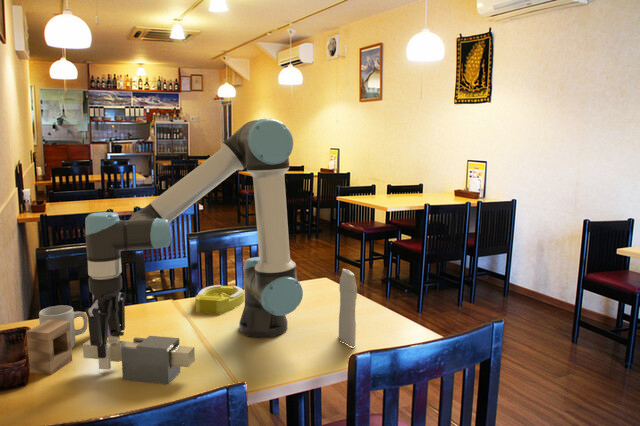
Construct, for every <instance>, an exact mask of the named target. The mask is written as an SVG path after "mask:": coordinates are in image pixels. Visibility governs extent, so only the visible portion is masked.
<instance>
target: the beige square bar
mask: <svg viewBox="0 0 640 426" xmlns="http://www.w3.org/2000/svg"><path fill="white" fill-rule="evenodd" d="M107 343H108V344H110V360H114V361H113V362H115V361H119V362H122V354H121V348H122V347H123V346H125V347H136V346H137V345H138V344H140V342H134V341H127V340H120V341H116V340H108V339H107ZM195 351H196V350H195V346H186V345H185V346H184V345H179V346H175V345H174V346H173V347H172V348H171V349H170V350H169V361H170V366H179V367H180V368H182V367H183V368H190V367H191V366H192V365H193V363H194V362H195V361H196V359H195V357H196V356H195V355H196V354H195ZM82 352H83V353H82V354H83V358H84V359H93V360H99V359H98V351H97V346H92V345H91V344H90V339H88V340H87V341H85V342H84V343H82Z"/></svg>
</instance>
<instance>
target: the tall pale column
mask: <svg viewBox="0 0 640 426" xmlns="http://www.w3.org/2000/svg"><path fill="white" fill-rule="evenodd" d="M356 283H357V282H356V276H355V274H354V272H352V271H351V270H350V269H346V268H342V269H341V275H340V278H339V287H338V288H339V293H340V294H339V313H338V315H339V316H338V338H339V337H340V339H339V342H340V341H341V342H344V343H346V344H348V345H349V346H352V347H354V346H355V347H356V334H357V333H356V331H357V330H356V328H357V323H356V306H357V305H356V303H357V301H356V300H357V296H358V285H357V284H356Z"/></svg>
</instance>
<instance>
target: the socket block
mask: <svg viewBox="0 0 640 426" xmlns="http://www.w3.org/2000/svg"><path fill="white" fill-rule="evenodd" d="M25 333H26V342H27V343H26V344H27V354H28V355H27V356H28V357H27V358H28V366H29V365H30V370H29V373H30V374H39V375H48V376H49V375H50V376H51V375H53V374H55V373H56V372H58V371H59V370H60V369H62V368H64V367H65V366H67V365H68V364H70V363H71V362H73V348H72V347H71V332H70V321H60V320H48V321H46V322H44V323H42V324H40V323H39V324H38V325H36V326H34V327H32V328H30V329H28V330H26V332H25Z"/></svg>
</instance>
